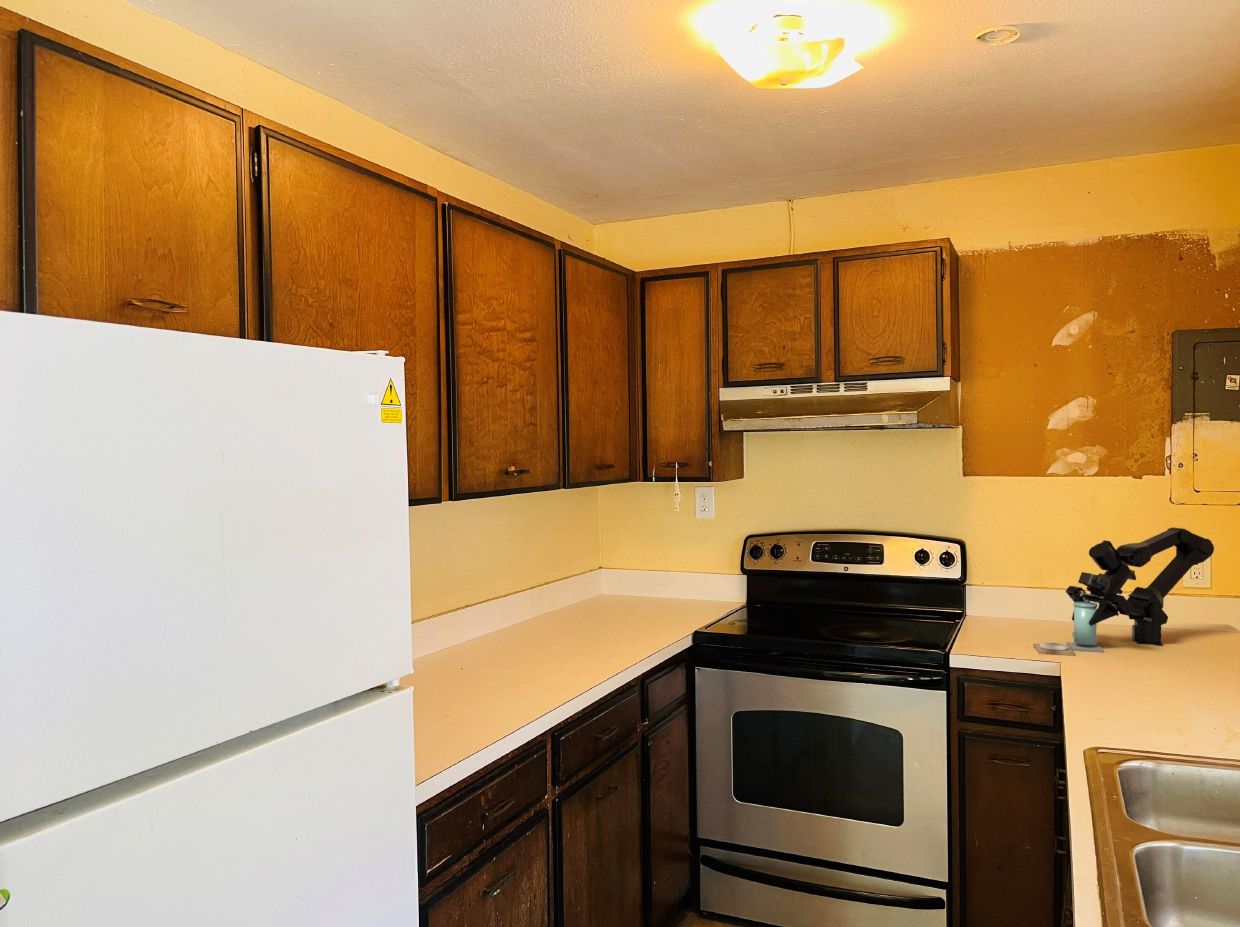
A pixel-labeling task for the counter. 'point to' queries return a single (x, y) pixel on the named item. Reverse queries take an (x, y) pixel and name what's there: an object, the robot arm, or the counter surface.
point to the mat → (1084, 647)
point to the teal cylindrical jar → (1084, 623)
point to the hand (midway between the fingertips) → (1081, 622)
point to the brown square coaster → (1054, 649)
